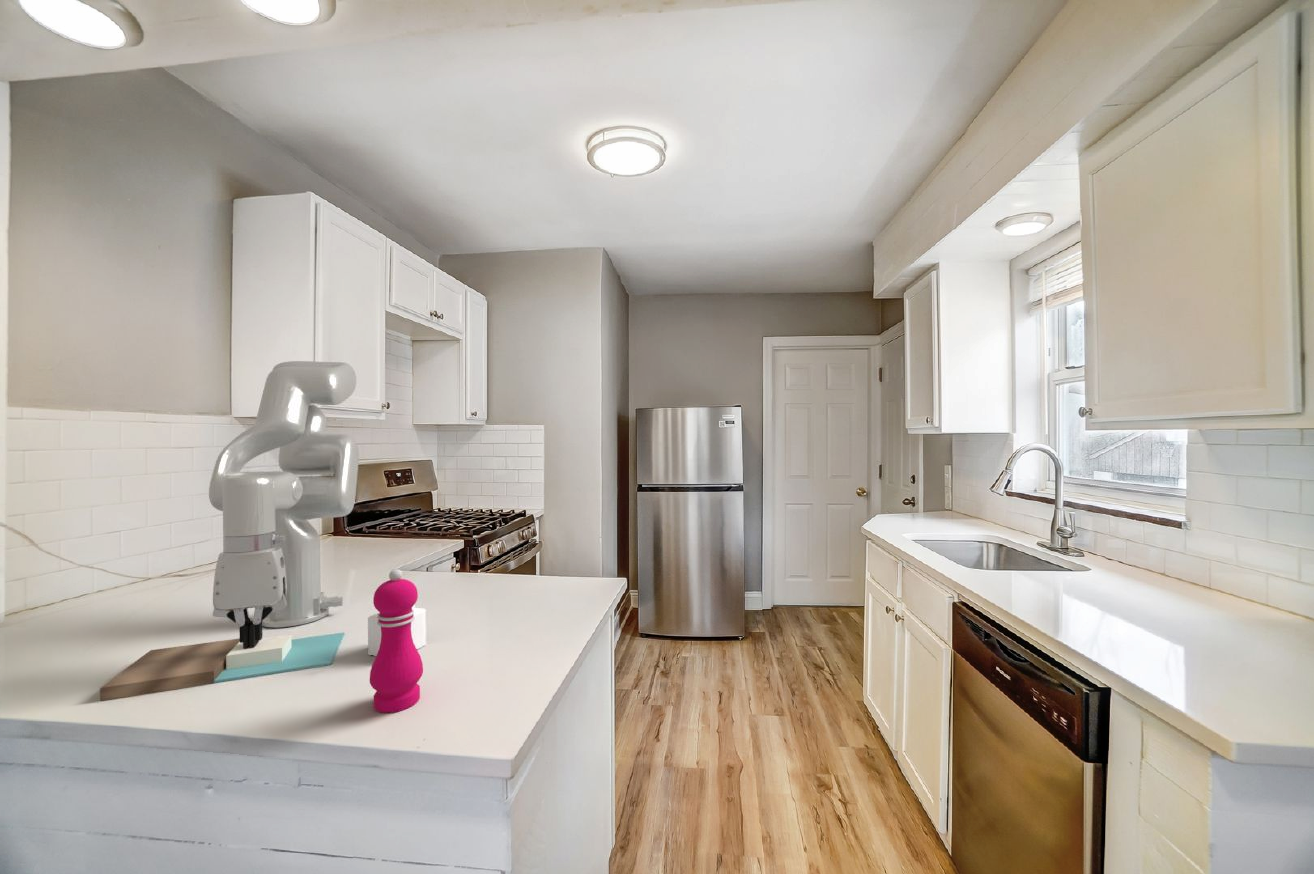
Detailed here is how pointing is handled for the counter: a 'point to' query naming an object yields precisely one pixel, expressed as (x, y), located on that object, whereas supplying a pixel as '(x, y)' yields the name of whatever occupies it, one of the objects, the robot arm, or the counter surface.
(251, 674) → the mat
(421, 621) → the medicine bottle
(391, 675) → the pepper mill
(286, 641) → the block
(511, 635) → the counter surface
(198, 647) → the board
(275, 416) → the robot arm
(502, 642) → the counter surface
